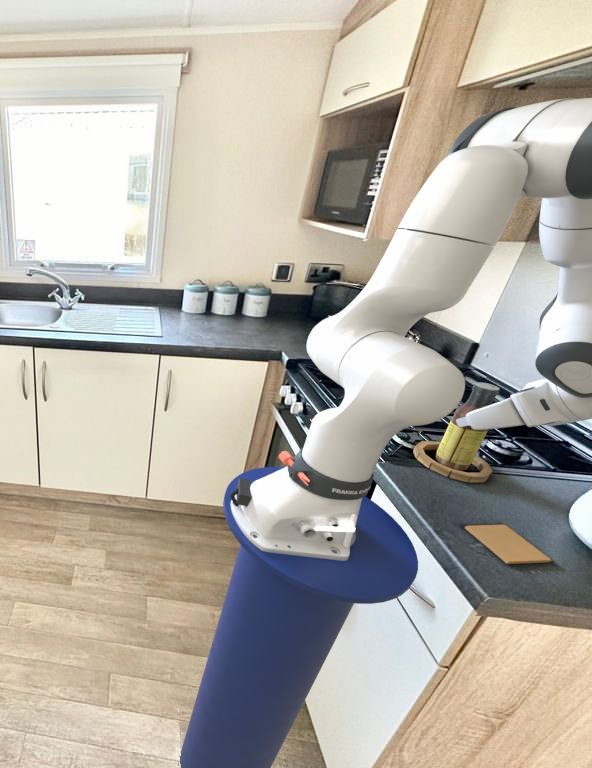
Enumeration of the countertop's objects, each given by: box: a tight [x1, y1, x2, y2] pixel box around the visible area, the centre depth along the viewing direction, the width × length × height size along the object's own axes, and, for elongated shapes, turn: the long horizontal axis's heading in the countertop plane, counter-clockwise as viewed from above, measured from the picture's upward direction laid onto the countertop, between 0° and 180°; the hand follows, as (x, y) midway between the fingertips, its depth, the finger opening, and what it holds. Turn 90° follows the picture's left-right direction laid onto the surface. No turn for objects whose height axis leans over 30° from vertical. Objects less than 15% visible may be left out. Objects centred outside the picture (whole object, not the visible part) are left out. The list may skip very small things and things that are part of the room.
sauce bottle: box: [435, 381, 501, 472], centre depth 90 cm, size 7×6×20 cm
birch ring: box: [412, 440, 493, 484], centre depth 94 cm, size 13×13×2 cm
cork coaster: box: [464, 524, 552, 565], centre depth 73 cm, size 8×8×1 cm
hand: (468, 419), depth 90 cm, fingers closed on sauce bottle, 6 cm apart
